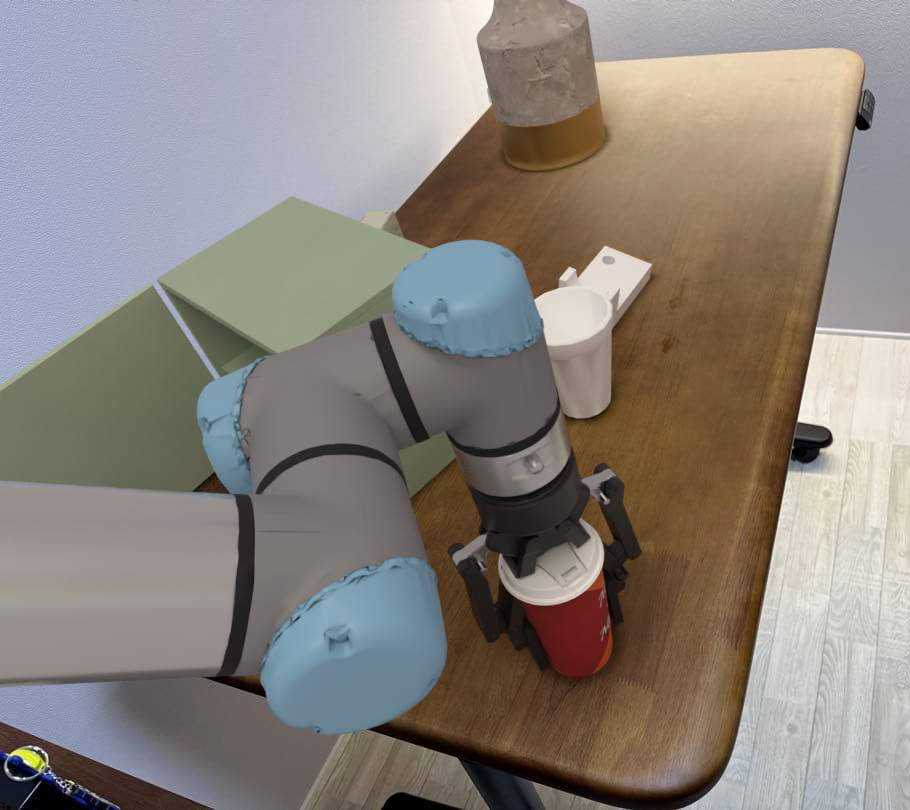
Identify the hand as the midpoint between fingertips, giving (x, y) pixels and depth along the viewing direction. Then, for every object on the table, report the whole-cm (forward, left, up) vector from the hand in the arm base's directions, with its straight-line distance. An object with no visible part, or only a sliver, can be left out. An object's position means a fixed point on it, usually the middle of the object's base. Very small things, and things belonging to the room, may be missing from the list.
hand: (575, 633), depth 67 cm
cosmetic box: (+6, +64, -2) cm, 65 cm away
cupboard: (-7, +40, -2) cm, 40 cm away
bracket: (+28, +40, -2) cm, 49 cm away
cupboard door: (-34, +45, -2) cm, 56 cm away
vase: (+45, +88, -2) cm, 98 cm away
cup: (+16, +26, -2) cm, 31 cm away
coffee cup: (0, 0, -2) cm, 2 cm away
